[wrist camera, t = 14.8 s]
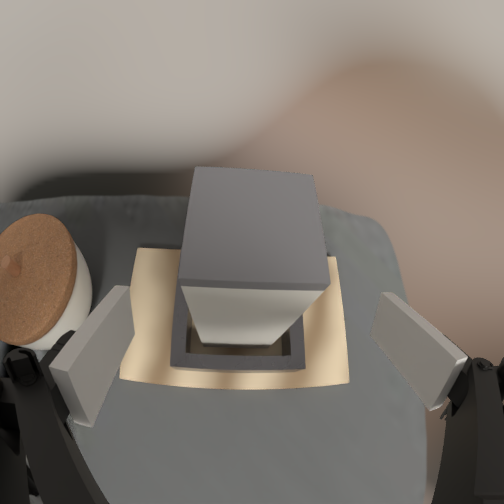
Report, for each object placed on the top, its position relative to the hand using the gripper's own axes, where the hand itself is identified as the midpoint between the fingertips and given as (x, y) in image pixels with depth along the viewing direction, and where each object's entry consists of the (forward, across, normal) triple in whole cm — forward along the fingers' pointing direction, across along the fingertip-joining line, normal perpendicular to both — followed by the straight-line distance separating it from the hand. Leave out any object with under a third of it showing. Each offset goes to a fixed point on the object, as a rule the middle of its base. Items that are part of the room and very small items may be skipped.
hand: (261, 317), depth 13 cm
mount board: (+12, 0, -7) cm, 14 cm away
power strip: (+11, 0, -6) cm, 13 cm away
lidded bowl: (+12, -20, -8) cm, 25 cm away
